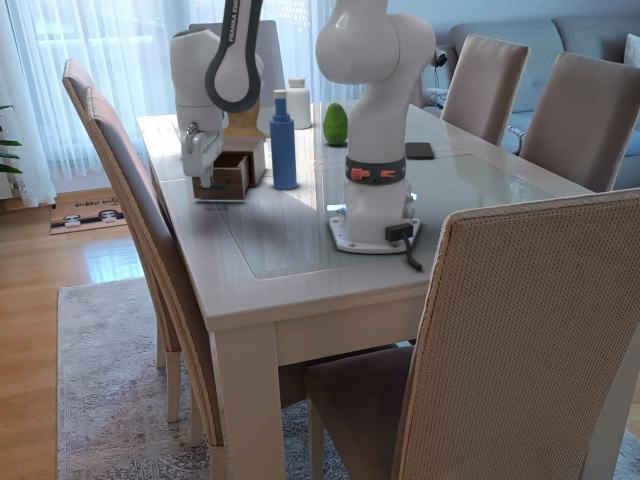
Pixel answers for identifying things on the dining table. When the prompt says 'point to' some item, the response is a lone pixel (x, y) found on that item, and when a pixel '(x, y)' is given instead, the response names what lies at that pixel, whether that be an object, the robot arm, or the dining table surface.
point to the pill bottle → (298, 103)
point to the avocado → (335, 124)
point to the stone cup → (244, 123)
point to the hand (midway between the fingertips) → (207, 185)
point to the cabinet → (251, 147)
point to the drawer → (226, 178)
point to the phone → (418, 150)
